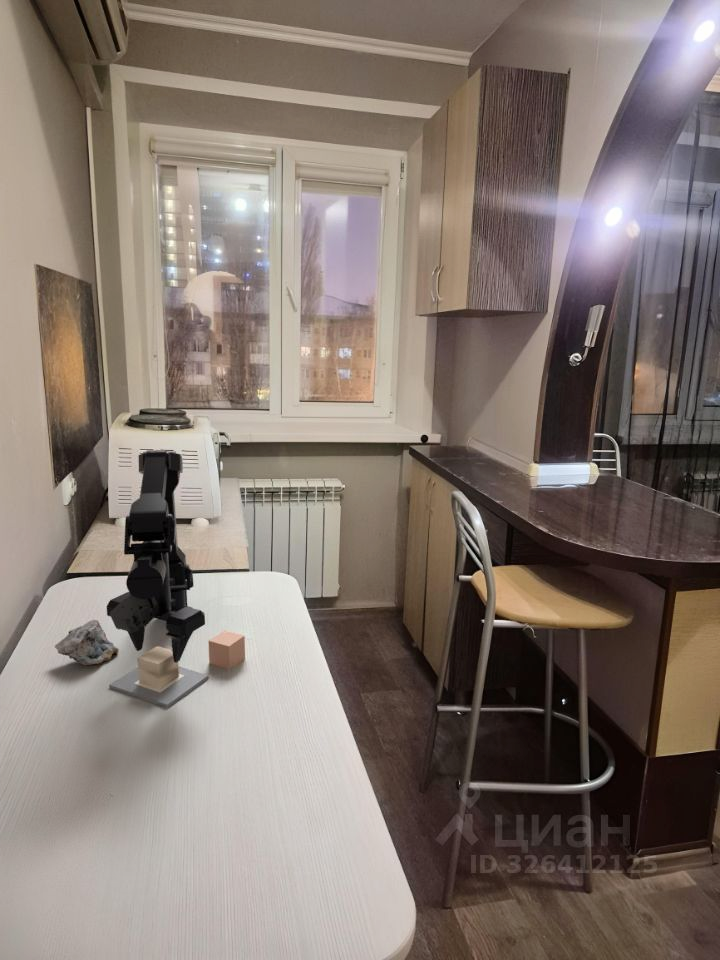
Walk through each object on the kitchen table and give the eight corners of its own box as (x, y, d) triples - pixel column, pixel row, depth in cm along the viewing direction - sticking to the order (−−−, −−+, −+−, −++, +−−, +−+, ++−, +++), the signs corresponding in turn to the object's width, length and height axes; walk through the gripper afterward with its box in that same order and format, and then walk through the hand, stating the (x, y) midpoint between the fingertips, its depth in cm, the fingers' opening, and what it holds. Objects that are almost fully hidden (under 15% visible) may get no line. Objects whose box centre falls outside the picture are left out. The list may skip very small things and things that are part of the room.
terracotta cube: (225, 652, 130) (224, 630, 129) (245, 658, 128) (244, 635, 126) (209, 663, 125) (208, 640, 124) (229, 669, 123) (228, 646, 122)
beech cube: (158, 669, 121) (157, 646, 120) (178, 676, 119) (177, 652, 118) (139, 682, 117) (137, 657, 116) (159, 689, 115) (158, 664, 113)
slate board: (152, 660, 126) (152, 657, 126) (208, 678, 120) (208, 674, 120) (109, 687, 116) (109, 684, 116) (167, 707, 110) (167, 704, 110)
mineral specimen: (98, 687, 125) (87, 654, 133) (129, 658, 126) (116, 626, 133) (60, 670, 119) (51, 636, 126) (93, 639, 119) (81, 607, 127)
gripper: (78, 582, 110) (86, 663, 114) (160, 603, 102) (165, 689, 106) (127, 562, 120) (133, 637, 123) (205, 580, 112) (208, 660, 115)
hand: (157, 655), depth 117 cm, fingers open, 9 cm apart
